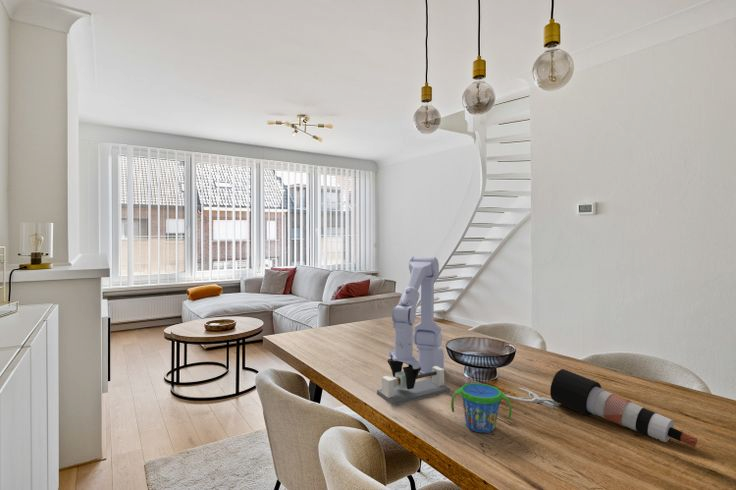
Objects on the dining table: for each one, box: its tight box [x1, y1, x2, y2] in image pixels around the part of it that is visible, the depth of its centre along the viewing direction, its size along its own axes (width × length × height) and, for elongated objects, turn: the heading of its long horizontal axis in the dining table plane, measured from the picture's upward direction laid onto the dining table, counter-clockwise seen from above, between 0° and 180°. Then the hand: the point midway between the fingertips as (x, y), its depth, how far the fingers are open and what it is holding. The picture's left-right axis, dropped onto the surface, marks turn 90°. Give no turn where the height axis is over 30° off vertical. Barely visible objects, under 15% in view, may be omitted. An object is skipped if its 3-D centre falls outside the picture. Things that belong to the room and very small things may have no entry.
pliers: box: [505, 387, 560, 410], centre depth 125 cm, size 10×2×15 cm
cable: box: [549, 368, 698, 448], centre depth 108 cm, size 10×34×10 cm, turn 36°
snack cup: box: [450, 382, 513, 434], centre depth 107 cm, size 16×10×10 cm
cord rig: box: [376, 366, 451, 406], centre depth 130 cm, size 22×10×6 cm, turn 119°
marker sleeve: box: [395, 370, 407, 389], centre depth 128 cm, size 4×4×4 cm
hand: (403, 384), depth 128 cm, fingers open, 7 cm apart
